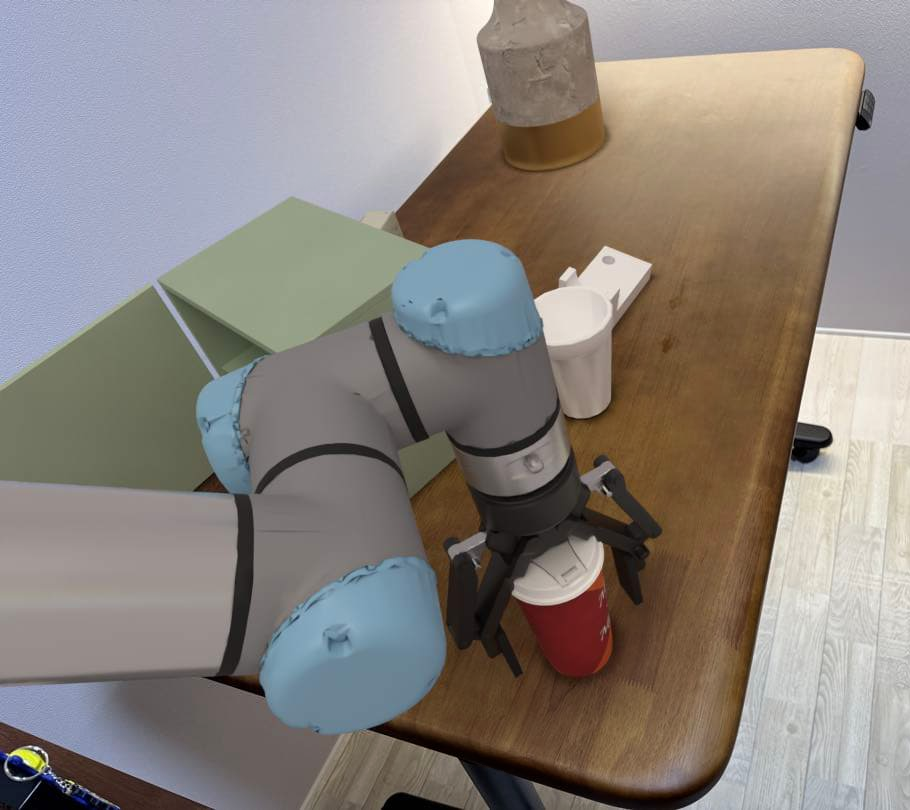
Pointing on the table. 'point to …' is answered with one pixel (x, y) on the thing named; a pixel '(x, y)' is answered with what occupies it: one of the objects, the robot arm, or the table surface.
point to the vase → (542, 83)
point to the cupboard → (295, 295)
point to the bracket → (612, 278)
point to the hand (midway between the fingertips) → (573, 627)
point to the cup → (579, 347)
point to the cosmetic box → (383, 221)
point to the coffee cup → (568, 606)
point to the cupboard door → (110, 405)
